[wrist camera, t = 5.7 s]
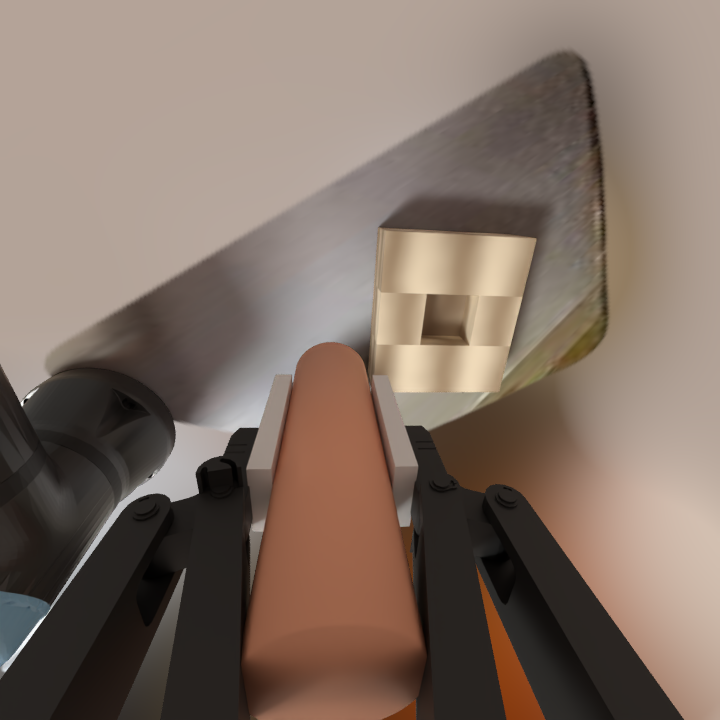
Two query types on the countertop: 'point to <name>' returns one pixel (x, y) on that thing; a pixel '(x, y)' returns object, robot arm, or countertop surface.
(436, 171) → the countertop surface
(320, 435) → the terracotta dowel
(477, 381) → the bore block
